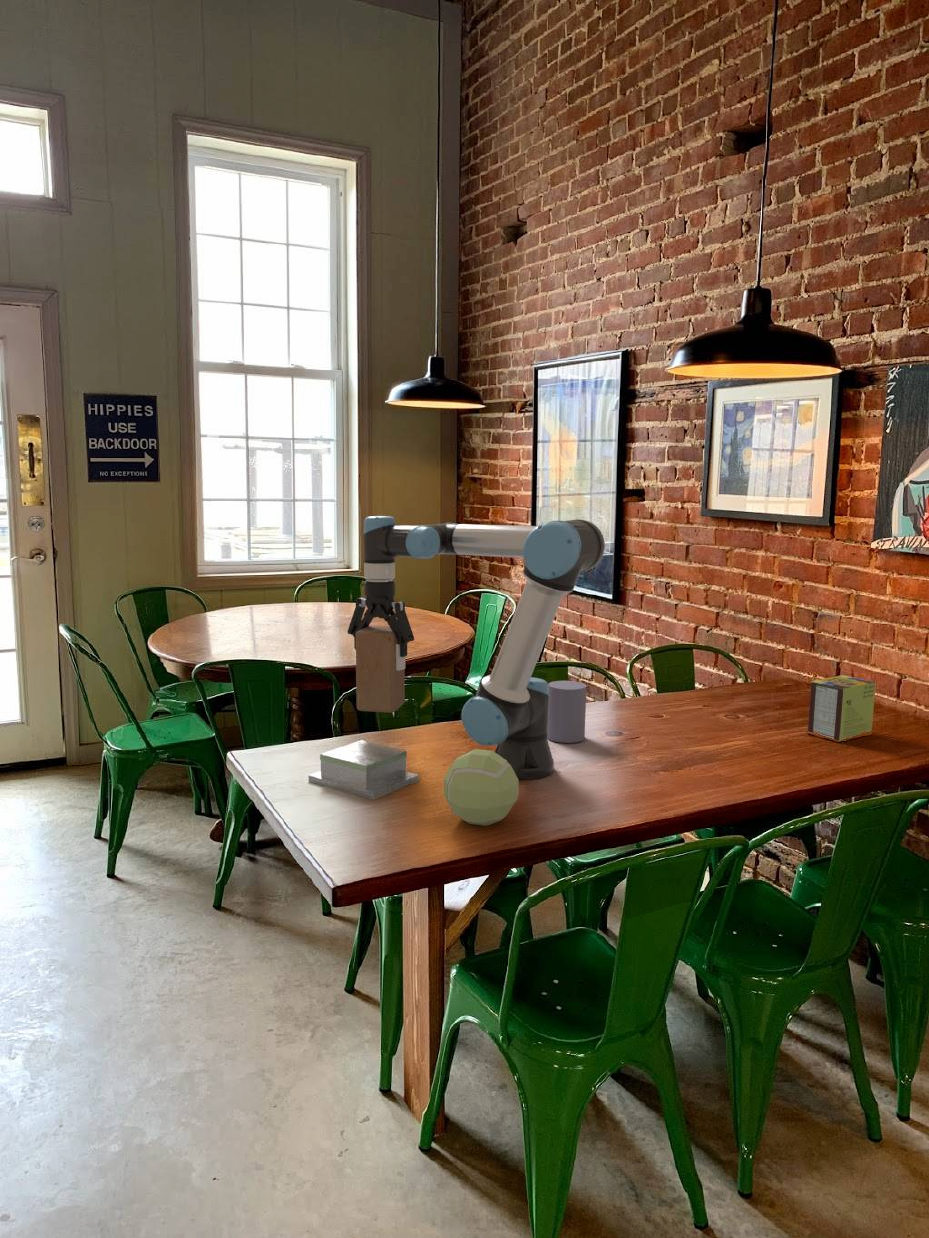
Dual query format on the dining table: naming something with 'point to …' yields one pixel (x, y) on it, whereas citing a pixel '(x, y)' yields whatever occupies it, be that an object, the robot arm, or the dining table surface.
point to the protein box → (841, 707)
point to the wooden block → (378, 671)
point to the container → (566, 711)
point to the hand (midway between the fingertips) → (380, 666)
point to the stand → (364, 770)
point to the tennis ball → (481, 787)
